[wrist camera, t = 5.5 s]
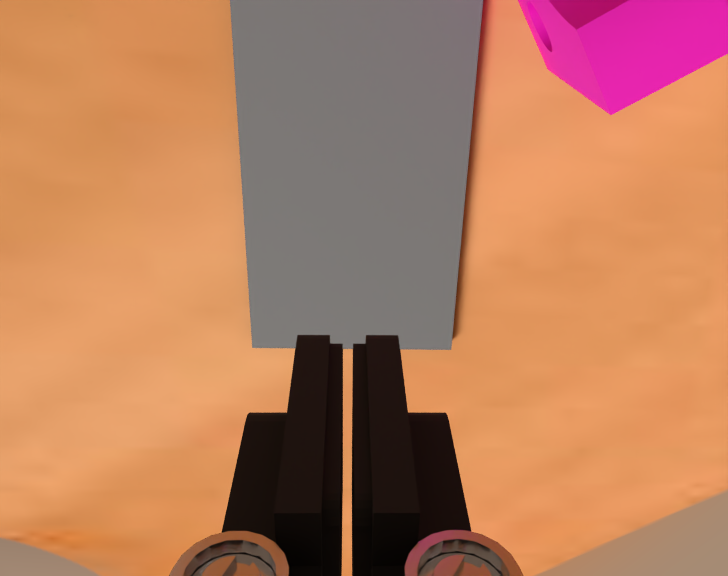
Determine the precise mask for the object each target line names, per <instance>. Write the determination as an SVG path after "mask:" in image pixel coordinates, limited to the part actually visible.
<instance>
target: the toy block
mask: <svg viewBox="0 0 728 576" xmlns="http://www.w3.org/2000/svg"><path fill="white" fill-rule="evenodd" d="M518 2H519V4H520V6H521V9H522V11H523V13H524V15H525V18H526V20H527V22H528V25H529V27H530V29H531V32H532V34H533V36H534V39H535V41H536V43H537V46H538V48H539V50H540V52H541V55H542V57H543V59H544V62H545V64H546V66H547V69H548V70H549V71H551V72H552V73H554V74H555V75H556V76H558V77H559V78H560V79H562V80H563V81H565V82H566V83H567V84H569V85H570V86H571V87H573V88H574V89H576V90H577V91H578V92H580V93H581V94H582V95H584V96H585V97H587V98H588V99H589V100H591V101H592V102H593V103H595V104H596V105H598V106H599V107H600V108H602V109H603V110H605V111H606V112H607V113H609V114H610V115H612V114H614V113H616V112H618V111H620V110H622V109H623V108H625V107H627V106H629V105H631V104H633V103H635V102H637V101H639V100H641V99H642V98H644V97H646V96H648V95H650V94H652V93H654V92H656V91H658V90H660V89H661V88H663V87H665V86H667V85H669V84H671V83H673V82H675V81H677V80H678V79H680V78H682V77H684V76H686V75H688V74H690V73H692V72H694V71H696V70H697V69H699V68H701V67H703V66H705V65H707V64H709V63H711V62H713V61H715V60H716V59H718V58H720V57H722V56H724V55H726V54H728V0H518Z"/></svg>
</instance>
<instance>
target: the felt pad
mask: <svg viewBox="0 0 728 576" xmlns="http://www.w3.org/2000/svg"><path fill="white" fill-rule="evenodd" d="M230 7H231V22H232V38H233V54H234V69H235V85H236V100H237V116H238V131H239V147H240V162H241V178H242V194H243V209H244V225H245V240H246V256H247V271H248V287H249V302H250V318H251V334H252V348H296V341H297V335H330V343H332V344H343V349H353V344H365V341H366V335H398V337H399V345H400V349H427V350H451V345H452V334H453V323H454V313H455V302H456V291H457V280H458V269H459V258H460V247H461V236H462V225H463V214H464V204H465V193H466V182H467V171H468V160H469V149H470V138H471V127H472V116H473V105H474V95H475V84H476V73H477V62H478V51H479V40H480V29H481V18H482V7H483V0H230Z"/></svg>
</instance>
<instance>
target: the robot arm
mask: <svg viewBox="0 0 728 576" xmlns="http://www.w3.org/2000/svg"><path fill="white" fill-rule="evenodd" d="M342 493H343V344H332V343H330V335H297V341H296V349H295V356H294V364H293V372H292V379H291V387H290V395H289V402H288V410H287V413H249V414H248V415H247V418H246V422H245V426H244V431H243V436H242V440H241V445H240V450H239V454H238V459H237V464H236V468H235V473H234V478H233V482H232V487H231V492H230V496H229V501H228V506H227V510H226V515H225V520H224V524H223V529H222V533H219V534H215V535H211V536H209V537H207V538H205V539H203V540H201V541H199V542H197V543H195V544H194V545H193V546H192V547H191V548H189V549H188V550H187V551H186V552H185V553H184V554H182V555H181V557H180V558H179V560H178V561H177V563H176V564H175V566H174V567H173V569H172V571H171V573H170V575H169V576H341V572H342ZM352 576H523V574H522V572H521V569H520V567H519V566H518V564H517V563H516V561H515V560H514V558H513V557H512V555H511V554H510V553H509V552H508V551H507V550H506V549H505V548H504V547H502V546H501V545H500V544H499V543H498V542H496V541H494V540H492V539H490V538H488V537H486V536H484V535H482V534H478V533H474V532H471V527H470V522H469V518H468V513H467V508H466V503H465V498H464V493H463V488H462V483H461V478H460V473H459V469H458V464H457V459H456V454H455V449H454V444H453V439H452V434H451V429H450V424H449V420H448V416H447V414H446V413H408V410H407V402H406V394H405V386H404V378H403V369H402V361H401V353H400V345H399V337H398V335H366V341H365V344H353V409H352Z"/></svg>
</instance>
